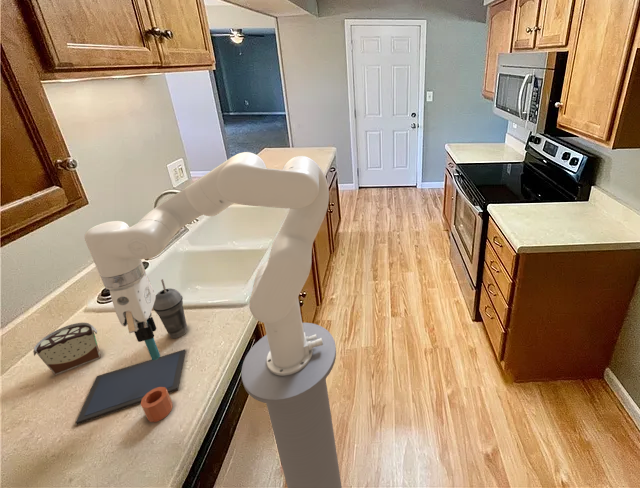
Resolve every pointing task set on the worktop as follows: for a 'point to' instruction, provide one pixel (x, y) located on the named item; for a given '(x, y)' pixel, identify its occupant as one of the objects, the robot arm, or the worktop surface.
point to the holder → (156, 404)
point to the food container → (68, 347)
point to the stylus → (152, 348)
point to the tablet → (131, 385)
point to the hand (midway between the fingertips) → (147, 335)
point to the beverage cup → (171, 311)
